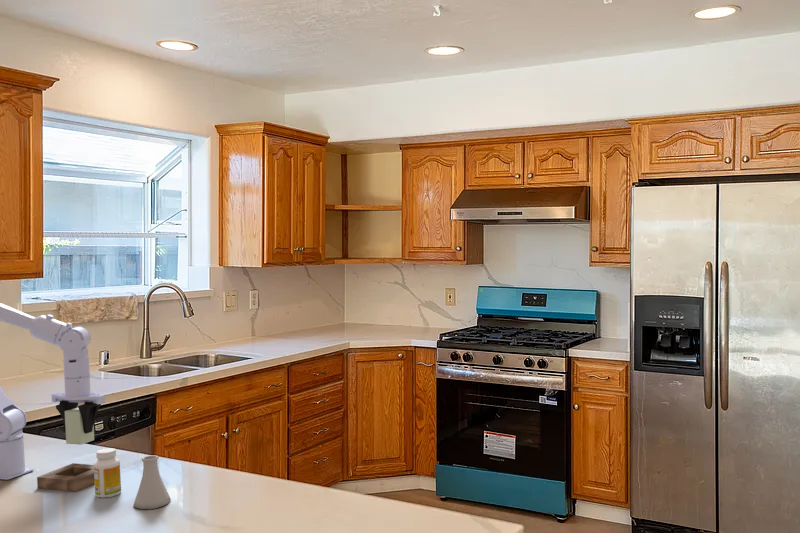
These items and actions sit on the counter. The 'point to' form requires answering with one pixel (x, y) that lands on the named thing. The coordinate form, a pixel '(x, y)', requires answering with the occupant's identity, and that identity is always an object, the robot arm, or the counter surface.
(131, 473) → the counter surface
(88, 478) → the socket
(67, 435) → the peg
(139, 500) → the flask
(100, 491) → the supplement bottle
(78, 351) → the robot arm
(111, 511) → the counter surface
